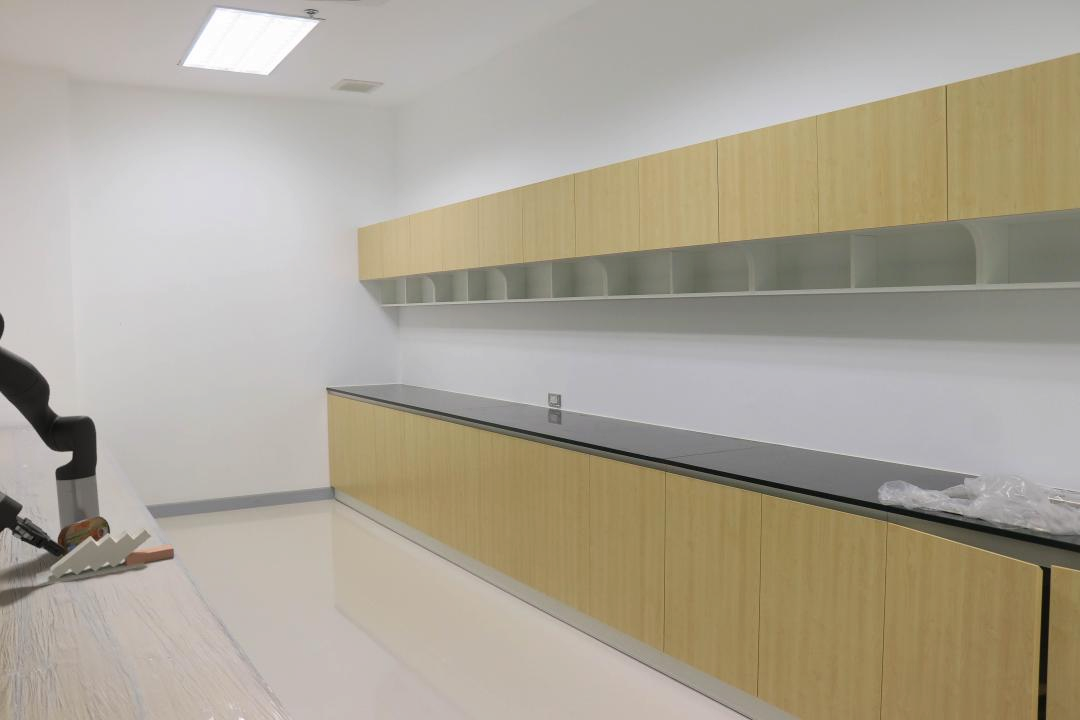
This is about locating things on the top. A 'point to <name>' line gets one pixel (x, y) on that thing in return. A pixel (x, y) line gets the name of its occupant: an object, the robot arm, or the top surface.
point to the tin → (82, 533)
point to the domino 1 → (73, 557)
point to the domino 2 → (94, 553)
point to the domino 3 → (112, 550)
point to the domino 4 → (130, 546)
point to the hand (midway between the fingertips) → (61, 552)
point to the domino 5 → (149, 554)
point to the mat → (83, 573)
